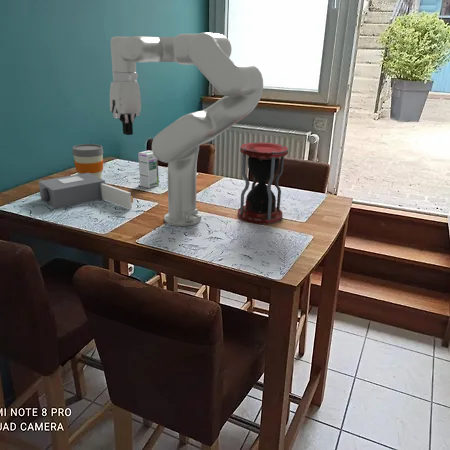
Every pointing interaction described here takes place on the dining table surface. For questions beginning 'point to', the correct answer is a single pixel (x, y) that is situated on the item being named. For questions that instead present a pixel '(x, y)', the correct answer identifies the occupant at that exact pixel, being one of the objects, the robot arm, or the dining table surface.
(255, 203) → the hourglass
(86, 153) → the reusable coffee cup
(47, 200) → the camera housing
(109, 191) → the side door
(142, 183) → the syrup box
